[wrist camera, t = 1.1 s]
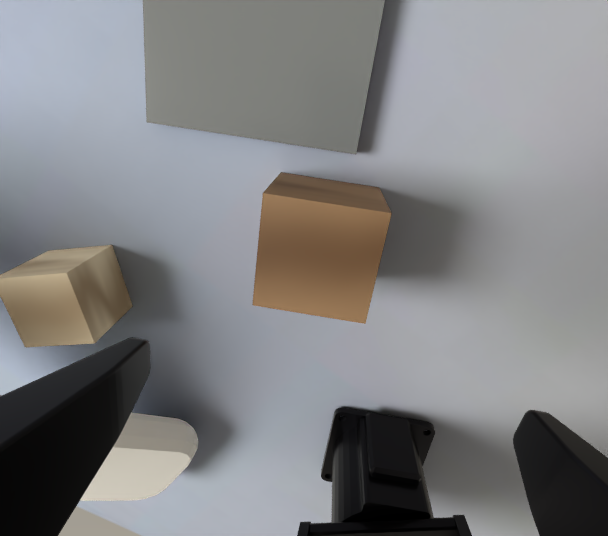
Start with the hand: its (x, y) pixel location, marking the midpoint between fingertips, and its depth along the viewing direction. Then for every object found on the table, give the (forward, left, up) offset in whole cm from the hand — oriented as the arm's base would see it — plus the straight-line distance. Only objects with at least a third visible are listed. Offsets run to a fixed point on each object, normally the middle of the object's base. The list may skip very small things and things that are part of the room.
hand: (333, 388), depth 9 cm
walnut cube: (0, +1, -12) cm, 12 cm away
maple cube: (-5, +14, -12) cm, 19 cm away
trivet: (+8, +5, -12) cm, 15 cm away
